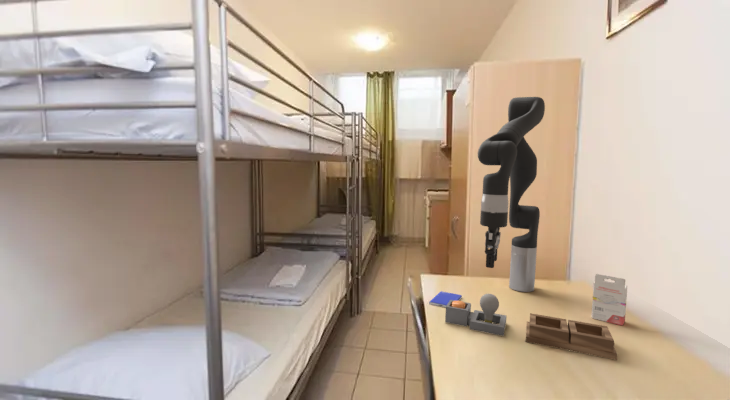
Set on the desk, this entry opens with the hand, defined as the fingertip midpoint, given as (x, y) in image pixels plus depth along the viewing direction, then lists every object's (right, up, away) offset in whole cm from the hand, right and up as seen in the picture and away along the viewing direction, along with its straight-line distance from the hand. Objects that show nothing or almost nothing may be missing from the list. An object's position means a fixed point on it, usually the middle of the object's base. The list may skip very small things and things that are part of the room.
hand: (491, 264), depth 108 cm
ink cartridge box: (+40, -20, +8) cm, 45 cm away
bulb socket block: (-4, -19, +3) cm, 20 cm away
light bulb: (0, -19, +2) cm, 19 cm away
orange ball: (-8, -17, +5) cm, 19 cm away
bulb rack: (+19, -20, -7) cm, 28 cm away
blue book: (-9, -18, +22) cm, 30 cm away
